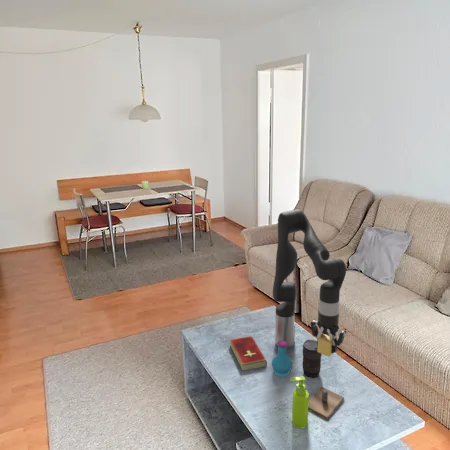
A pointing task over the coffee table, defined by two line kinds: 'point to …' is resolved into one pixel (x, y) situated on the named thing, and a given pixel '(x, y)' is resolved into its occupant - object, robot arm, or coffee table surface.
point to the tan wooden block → (324, 345)
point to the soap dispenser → (300, 403)
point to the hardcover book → (247, 353)
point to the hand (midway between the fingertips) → (326, 349)
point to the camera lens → (311, 359)
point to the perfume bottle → (281, 360)
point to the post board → (325, 406)
